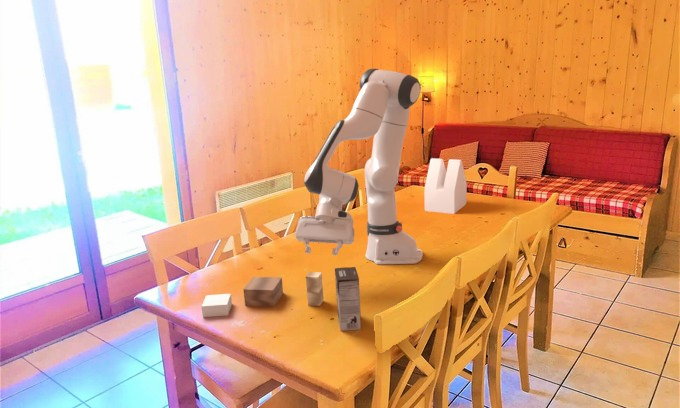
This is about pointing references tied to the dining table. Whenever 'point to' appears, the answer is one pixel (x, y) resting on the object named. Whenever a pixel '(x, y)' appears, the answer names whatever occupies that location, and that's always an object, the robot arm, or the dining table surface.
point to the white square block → (216, 305)
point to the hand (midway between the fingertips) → (321, 253)
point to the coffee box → (348, 298)
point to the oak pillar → (314, 288)
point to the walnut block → (263, 291)
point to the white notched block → (445, 186)
